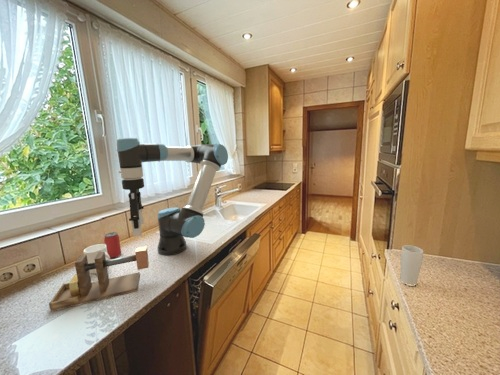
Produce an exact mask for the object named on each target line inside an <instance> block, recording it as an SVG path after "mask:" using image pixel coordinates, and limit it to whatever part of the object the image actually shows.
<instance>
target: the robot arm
mask: <svg viewBox="0 0 500 375" xmlns="http://www.w3.org/2000/svg"><path fill="white" fill-rule="evenodd" d="M116 151H117V156H118V163H119V169H120V170H118V173H119V174H120V177H121V179H122V180H121V184H122V189H123V190H124V191H125V190H126V191H128V190H129V193H128V200H129V201H128V202H129V213H130V214H129V215H130V218H128V220H129V222H131V226H132V233H133V238H134V237H140V236H141V237H142V236H143V235H142V225H145V223H144V215H143V214H144V213H143V209H144V210H145V208H144V206H143V204H142V199H141V198H142V197H141V193H142V192H141V191H140V190H141V189H143V188H145V180H144V179H145V178H144V172H143V163H146V162H148V163H149V162H150V163H151V162H161V161H162V162H163V161H165V162H166V161H167V162H169V161H170V162H175V161H176V162H178V161H180V162H181V161H182V162H186V163H194V164H199V165H201V166H200V170H199V173H198V175H197V178H196V179H195V183H194V185H193V187H192V190H191V193H190V195H189V198H188V200H187V202H186V205H185V206H183V207H181V208H180V207H177V206H176V207H174V206H173V207H168V208H164V209H161V210H159V211H158V213H157V221H158V222H157V223H158V230H159V231H158V232H159V241H158V245H157V252H158V254H159V255H163V256H171V255H176V254H179V253H181V252H184V251H185V250H186V249H187V242H186V241H187V240H186V239H185V238H189V239H194V238H197V237H198V236H199V235H201V234H202V232H203V231H204V229H205V226H206V223H205V218H204V216H205V215H204V212H203V209H204V206H205V203H206V200H207V198H208V196H209V195H208V194H209V192H210V189H211V187H212V184H213V181H214V179H215V177H216V173H217V172H218V171H220V170H221V168H222V166H223V165H224V166H225V165H226V164H227V162H228V160H229V152H228V150H227V148H226V146H225V145H223V144H220V143H219V144H218V143H214V144H211V143H210V144H209V143H207V144H196V145H186V146H184V147H183V146H170V145H169V146H168V145H165V144H164V143H155V142H154V143H141V142H140V140H139V138H137V137H135V138H134V137H120V138H118V139H117V140H116Z"/></svg>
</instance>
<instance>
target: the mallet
mask: <svg viewBox="0 0 500 375" xmlns="http://www.w3.org/2000/svg"><path fill="white" fill-rule="evenodd" d="M132 262H136V267H137V269H136V270H137V271H140V270H143V269H145V270H146V269H149V266H150V265H149V264H150V261H149V253H148V246H147V245H144V246H139V247H136V248H135V254H134V255H133V254H132V255H129V256H127V255H126V256H123V257H122V256H121V257H118V258H117V257H115V258H110V260H109V259H108V260H106V261H103V267H107V266H109V267H112V266H116V265H122V264H127V263H132ZM84 268H85V271H87V270H92V269H96V266H95V263H89V264H85V267H84Z"/></svg>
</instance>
